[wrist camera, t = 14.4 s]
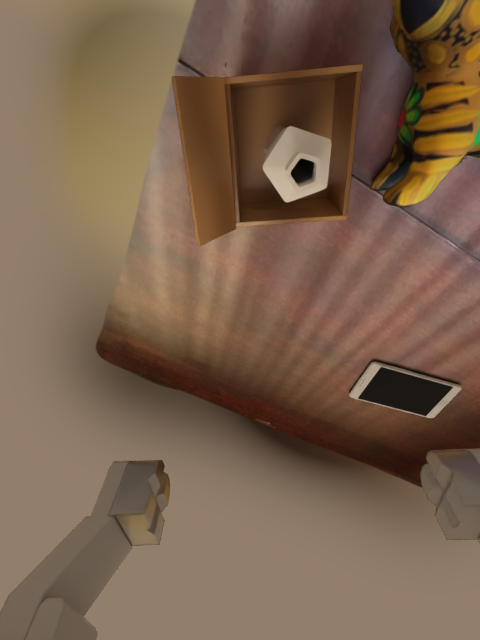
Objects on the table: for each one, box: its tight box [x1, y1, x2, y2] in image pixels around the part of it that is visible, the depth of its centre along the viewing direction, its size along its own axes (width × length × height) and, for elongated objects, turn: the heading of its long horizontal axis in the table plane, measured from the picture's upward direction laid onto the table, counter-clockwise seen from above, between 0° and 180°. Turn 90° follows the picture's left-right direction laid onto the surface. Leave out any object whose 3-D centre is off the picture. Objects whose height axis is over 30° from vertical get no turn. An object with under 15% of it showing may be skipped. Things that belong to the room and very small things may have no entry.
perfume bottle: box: [263, 126, 331, 202], centre depth 25 cm, size 5×4×15 cm
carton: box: [224, 64, 363, 227], centre depth 29 cm, size 10×11×7 cm
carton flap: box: [172, 76, 236, 246], centre depth 24 cm, size 5×11×1 cm
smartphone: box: [349, 361, 461, 418], centre depth 49 cm, size 8×1×15 cm
